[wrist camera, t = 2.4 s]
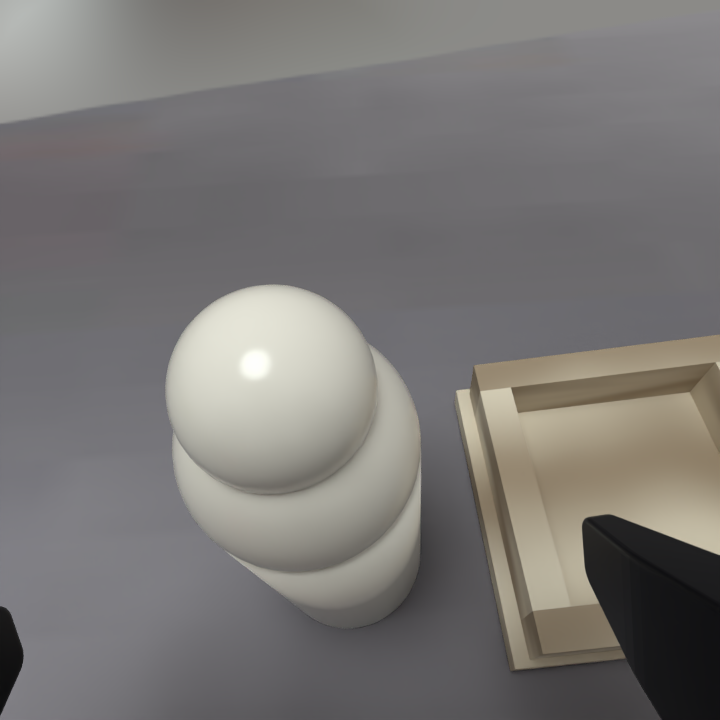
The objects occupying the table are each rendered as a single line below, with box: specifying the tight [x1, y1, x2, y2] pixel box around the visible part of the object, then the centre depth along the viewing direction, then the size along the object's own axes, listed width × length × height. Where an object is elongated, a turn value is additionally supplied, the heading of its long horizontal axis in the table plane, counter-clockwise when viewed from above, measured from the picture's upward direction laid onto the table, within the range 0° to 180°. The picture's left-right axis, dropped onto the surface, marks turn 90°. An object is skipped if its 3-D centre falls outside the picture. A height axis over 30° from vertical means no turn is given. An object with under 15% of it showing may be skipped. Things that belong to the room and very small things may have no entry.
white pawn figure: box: [165, 285, 421, 629], centre depth 13 cm, size 5×5×13 cm
